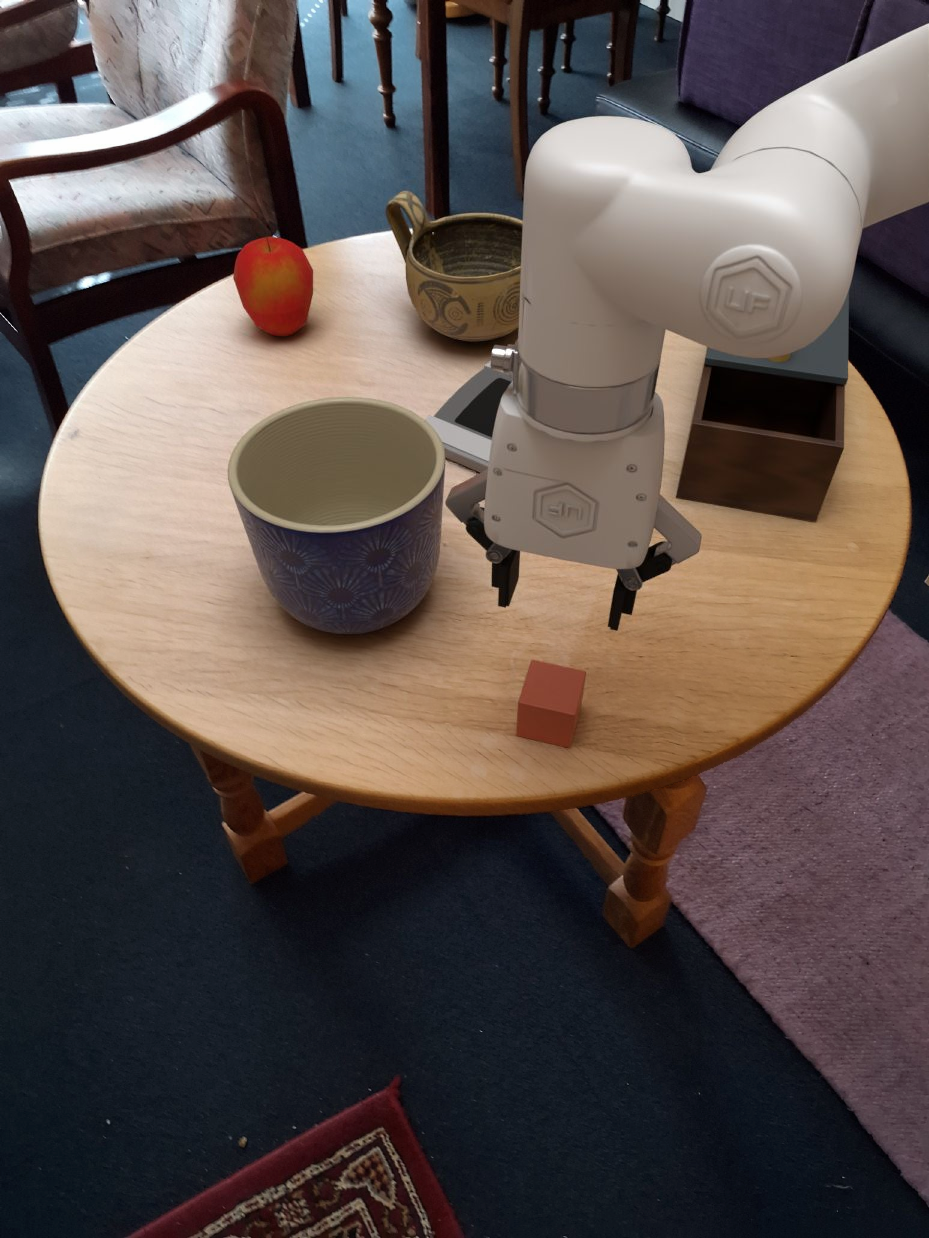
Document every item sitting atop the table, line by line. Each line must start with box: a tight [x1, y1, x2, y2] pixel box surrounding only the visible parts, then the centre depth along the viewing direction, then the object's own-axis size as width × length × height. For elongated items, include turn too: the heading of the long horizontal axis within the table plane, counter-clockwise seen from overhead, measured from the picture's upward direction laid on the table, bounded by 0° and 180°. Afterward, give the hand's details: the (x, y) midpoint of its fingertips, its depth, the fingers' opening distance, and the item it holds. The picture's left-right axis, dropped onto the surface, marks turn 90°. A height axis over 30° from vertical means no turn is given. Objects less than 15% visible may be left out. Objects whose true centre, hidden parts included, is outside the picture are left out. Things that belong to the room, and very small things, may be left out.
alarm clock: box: [424, 360, 512, 474], centre depth 95 cm, size 17×5×16 cm
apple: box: [232, 236, 314, 337], centre depth 107 cm, size 9×9×12 cm
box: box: [675, 350, 846, 523], centre depth 91 cm, size 14×18×9 cm
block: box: [515, 659, 587, 749], centre depth 70 cm, size 4×4×4 cm
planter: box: [227, 396, 446, 635], centre depth 76 cm, size 17×17×15 cm
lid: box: [703, 290, 850, 386], centre depth 92 cm, size 14×18×4 cm
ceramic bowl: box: [385, 190, 523, 343], centre depth 106 cm, size 22×17×15 cm
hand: (561, 602), depth 61 cm, fingers open, 7 cm apart
